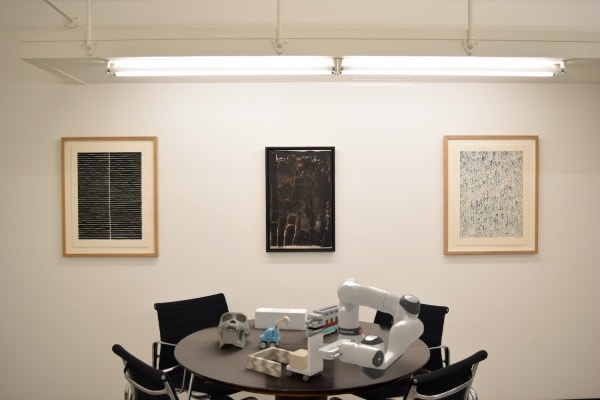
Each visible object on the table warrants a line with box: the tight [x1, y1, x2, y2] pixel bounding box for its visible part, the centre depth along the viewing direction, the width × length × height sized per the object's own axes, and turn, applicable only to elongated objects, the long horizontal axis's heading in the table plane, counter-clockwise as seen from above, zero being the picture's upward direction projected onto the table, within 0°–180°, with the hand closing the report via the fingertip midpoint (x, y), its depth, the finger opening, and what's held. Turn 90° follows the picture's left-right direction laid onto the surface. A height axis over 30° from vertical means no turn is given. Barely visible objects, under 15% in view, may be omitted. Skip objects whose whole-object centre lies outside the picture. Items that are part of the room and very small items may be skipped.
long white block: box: [254, 307, 308, 331], centre depth 309 cm, size 32×11×11 cm, turn 82°
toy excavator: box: [259, 316, 290, 349], centre depth 267 cm, size 9×17×17 cm, turn 78°
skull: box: [217, 311, 252, 349], centre depth 271 cm, size 18×21×28 cm
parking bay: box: [246, 347, 293, 378], centre depth 236 cm, size 20×18×6 cm
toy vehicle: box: [304, 303, 339, 338], centre depth 293 cm, size 8×30×15 cm, turn 141°
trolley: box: [285, 329, 324, 382], centre depth 225 cm, size 14×12×22 cm
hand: (321, 345), depth 218 cm, fingers closed
